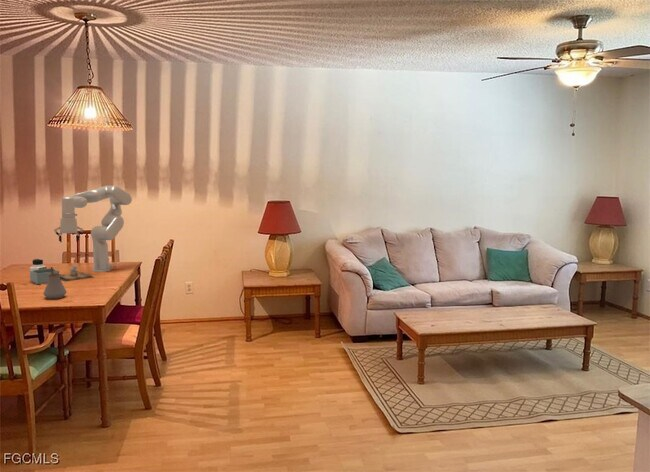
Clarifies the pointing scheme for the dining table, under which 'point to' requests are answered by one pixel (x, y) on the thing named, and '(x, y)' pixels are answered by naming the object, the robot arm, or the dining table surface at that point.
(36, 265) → the medicine bottle
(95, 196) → the robot arm
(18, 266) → the dining table surface
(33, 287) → the dining table surface
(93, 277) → the rubber mat
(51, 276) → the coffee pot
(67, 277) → the walnut lid
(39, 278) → the grey ceramic box
